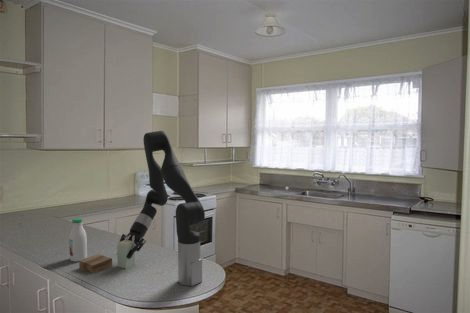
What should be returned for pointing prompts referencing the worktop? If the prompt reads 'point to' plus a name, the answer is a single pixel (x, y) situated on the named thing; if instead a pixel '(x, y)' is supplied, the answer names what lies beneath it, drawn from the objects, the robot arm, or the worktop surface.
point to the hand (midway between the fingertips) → (123, 256)
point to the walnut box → (95, 263)
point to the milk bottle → (78, 241)
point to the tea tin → (125, 254)
